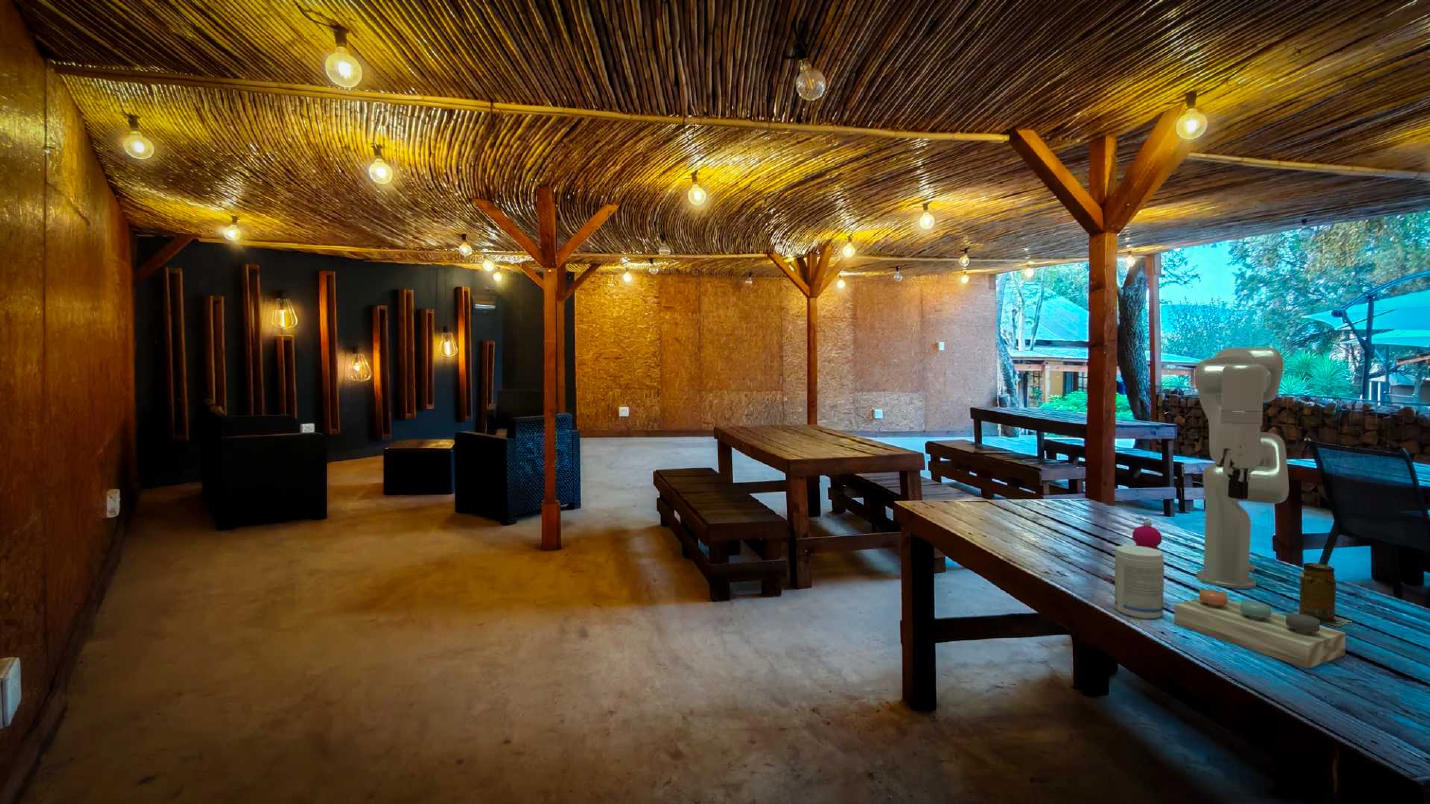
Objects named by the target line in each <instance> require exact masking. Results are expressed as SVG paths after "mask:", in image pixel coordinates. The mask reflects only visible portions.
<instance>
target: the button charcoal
mask: <svg viewBox="0 0 1430 804" xmlns="http://www.w3.org/2000/svg"><path fill="white" fill-rule="evenodd" d="M1285 616H1286V625H1287V626H1289V627H1291V628H1294V629H1296V632H1297V633H1300V634H1304V635H1307V636H1308V632H1318V631H1319V630H1320V626H1321V624H1320V623H1321V622H1320V620H1318V619H1317V618H1314V617H1311V616H1308V615H1303V614H1296V613H1295V612H1290V613H1286V615H1285Z"/></svg>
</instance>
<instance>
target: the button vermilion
mask: <svg viewBox="0 0 1430 804" xmlns="http://www.w3.org/2000/svg"><path fill="white" fill-rule="evenodd" d="M1198 595H1199V597H1198V598H1199V599H1200V600H1201V601H1203V602H1205V603H1208V606H1209V607H1213V608H1216V609H1217V608H1218V605H1227V604H1228V600H1229V596H1228V594H1227V593H1225V592H1223V591H1220V590H1215V589H1210V588H1209V589H1204V588H1202V589H1200V590H1199V594H1198Z"/></svg>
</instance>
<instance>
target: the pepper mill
mask: <svg viewBox="0 0 1430 804" xmlns="http://www.w3.org/2000/svg"><path fill="white" fill-rule="evenodd" d="M1152 524H1153V523H1152V521H1151V520H1149V519H1145V520H1143V522H1142V525H1141V526H1138V527H1136V528H1134V530H1133V531H1132V540H1133V542H1134V543H1135V544H1134V546H1142V547H1148V548H1153V549H1156V550H1159V551H1160V548H1159V547H1158V546H1160V544H1161V543H1162V539H1163V538H1162V533H1161V532H1160V531H1159V530H1158V529H1157V528H1155V527H1153V526H1152Z"/></svg>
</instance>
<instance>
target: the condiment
mask: <svg viewBox="0 0 1430 804" xmlns="http://www.w3.org/2000/svg"><path fill="white" fill-rule="evenodd" d="M1302 572H1303V573H1302V574H1301V575H1300V581H1299V583H1300V584H1299V585H1300V586H1299V587H1300V588H1299V601H1298V603H1299V605H1298V607H1299V608H1298V610H1299V611H1296V612H1294V613H1296V614H1303V615H1308V616H1311V617H1314V618H1317V619H1318V620H1320V623H1323V624H1326V625H1332V626H1335V627H1341V625H1342V626H1344V625H1347V624H1348V623H1347V622H1350V623H1353V620H1349V619H1345V618H1343V617H1337V616H1336V598H1337V597H1336V595H1337V580H1336V579H1335V577H1336V575H1335V572H1336V571H1335V568H1334V566H1332V565H1327V564H1324V563H1319V562H1304V564H1303V569H1302ZM1335 619H1339V620H1335ZM1336 622H1337V623H1336ZM1338 622H1343V624H1342V623H1338ZM1345 622H1346V623H1345Z"/></svg>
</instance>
